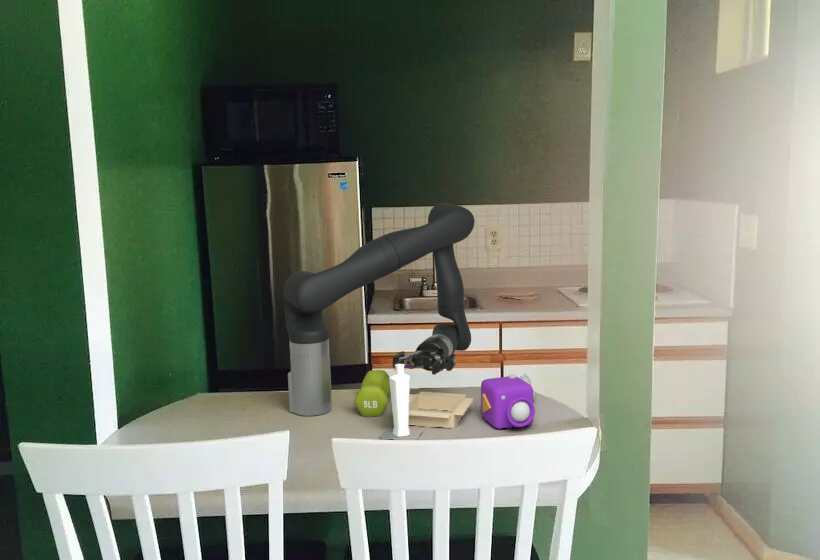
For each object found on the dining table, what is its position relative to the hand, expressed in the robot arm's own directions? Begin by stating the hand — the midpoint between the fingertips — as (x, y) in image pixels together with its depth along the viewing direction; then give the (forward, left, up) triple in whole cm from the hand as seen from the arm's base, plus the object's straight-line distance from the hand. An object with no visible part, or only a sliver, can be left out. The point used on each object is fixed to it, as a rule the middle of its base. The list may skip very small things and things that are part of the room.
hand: (415, 369), depth 159 cm
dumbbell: (-12, +6, -12) cm, 18 cm away
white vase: (0, -11, -11) cm, 16 cm away
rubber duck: (+22, +16, -12) cm, 30 cm away
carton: (+4, +1, -11) cm, 12 cm away
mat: (0, -11, -11) cm, 16 cm away
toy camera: (+21, +1, -12) cm, 24 cm away
